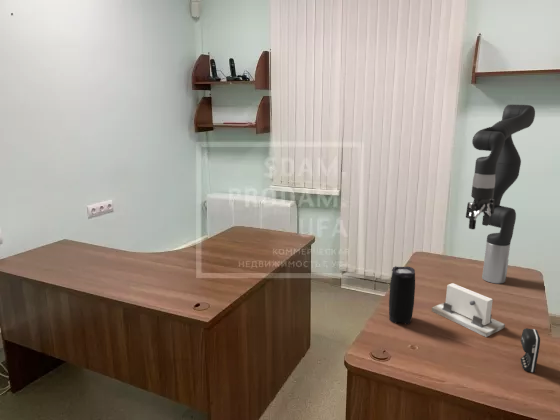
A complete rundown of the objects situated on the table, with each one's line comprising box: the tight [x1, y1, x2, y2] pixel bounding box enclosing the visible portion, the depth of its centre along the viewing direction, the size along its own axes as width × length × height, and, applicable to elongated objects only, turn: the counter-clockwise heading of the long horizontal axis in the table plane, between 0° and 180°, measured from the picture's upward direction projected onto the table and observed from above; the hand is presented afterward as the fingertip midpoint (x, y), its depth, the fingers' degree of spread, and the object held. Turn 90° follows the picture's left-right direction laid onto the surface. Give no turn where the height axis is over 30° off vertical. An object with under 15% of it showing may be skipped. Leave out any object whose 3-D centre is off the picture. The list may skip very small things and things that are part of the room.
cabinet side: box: [431, 301, 506, 338], centre depth 156 cm, size 11×22×4 cm, turn 33°
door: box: [445, 282, 494, 325], centre depth 155 cm, size 4×16×9 cm, turn 33°
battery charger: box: [520, 327, 541, 374], centre depth 128 cm, size 7×4×11 cm, turn 160°
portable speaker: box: [388, 265, 416, 325], centre depth 154 cm, size 9×9×20 cm
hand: (478, 227), depth 165 cm, fingers open, 8 cm apart
